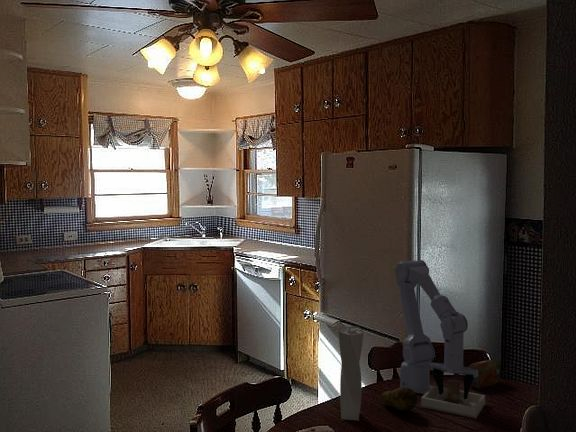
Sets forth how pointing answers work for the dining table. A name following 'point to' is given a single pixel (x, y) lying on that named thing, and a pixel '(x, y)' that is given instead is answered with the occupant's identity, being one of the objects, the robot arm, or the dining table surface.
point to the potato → (400, 398)
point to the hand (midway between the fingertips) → (453, 395)
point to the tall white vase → (350, 372)
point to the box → (464, 408)
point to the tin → (486, 373)
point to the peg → (453, 391)
